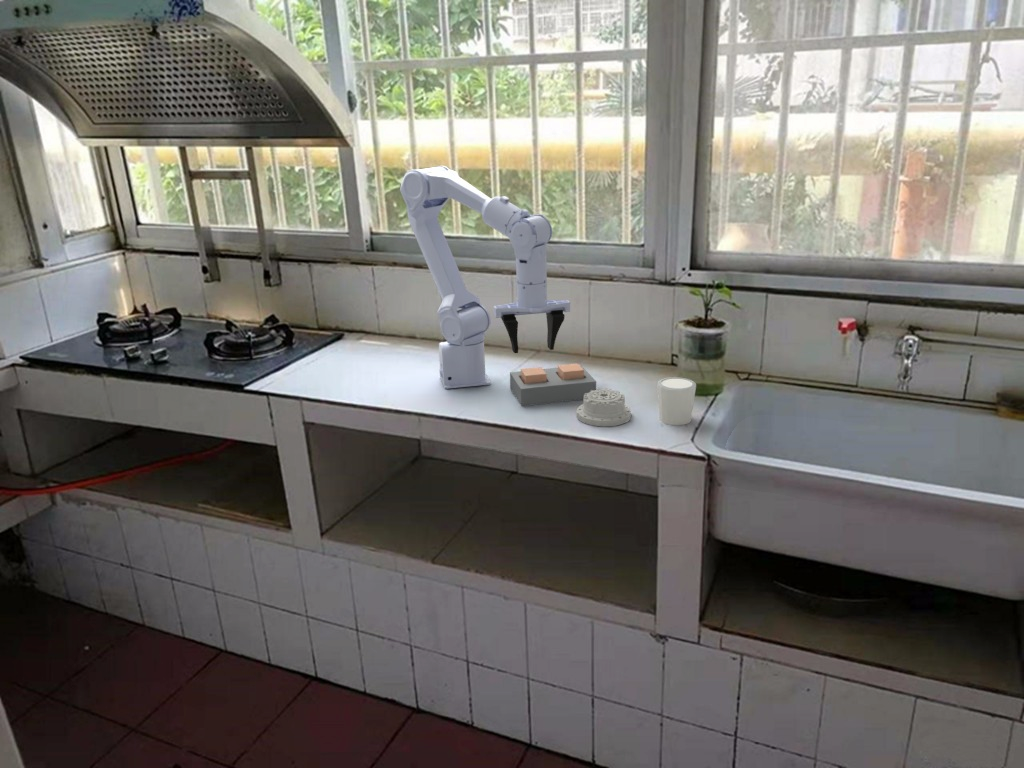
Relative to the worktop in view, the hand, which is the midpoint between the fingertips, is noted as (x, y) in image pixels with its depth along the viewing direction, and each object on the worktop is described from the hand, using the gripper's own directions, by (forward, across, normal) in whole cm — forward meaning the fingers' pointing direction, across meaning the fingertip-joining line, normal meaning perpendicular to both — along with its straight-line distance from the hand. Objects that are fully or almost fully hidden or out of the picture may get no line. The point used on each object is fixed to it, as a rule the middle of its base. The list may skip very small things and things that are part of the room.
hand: (533, 350), depth 155 cm
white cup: (+10, +22, -19) cm, 30 cm away
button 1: (+8, 0, 0) cm, 8 cm away
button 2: (+8, +8, 0) cm, 11 cm away
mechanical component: (+10, +10, -14) cm, 20 cm away
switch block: (+9, +4, 0) cm, 10 cm away
